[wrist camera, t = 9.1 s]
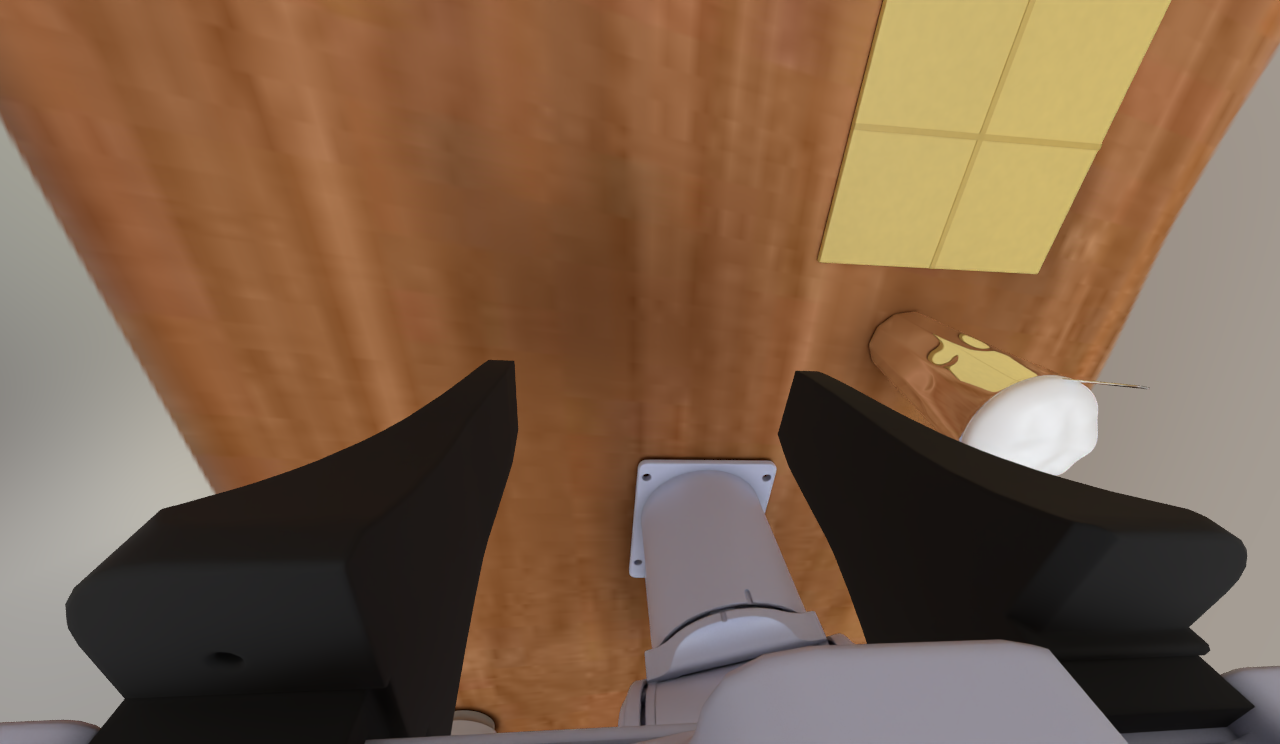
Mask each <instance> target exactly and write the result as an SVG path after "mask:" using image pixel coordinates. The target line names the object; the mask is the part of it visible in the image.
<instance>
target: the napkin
mask: <svg viewBox="0 0 1280 744" xmlns="http://www.w3.org/2000/svg"><path fill="white" fill-rule="evenodd" d="M1170 2H1171V0H883V4H882V8H881V12H880V16H879V20H878V23H877V27H876V31H875V35H874V39H873V43H872V47H871V51H870V55H869V59H868V63H867V67H866V71H865V75H864V79H863V82H862V86H861V90H860V94H859V98H858V102H857V106H856V110H855V114H854V118H853V122H852V126H851V130H850V134H849V137H848V141H847V145H846V149H845V153H844V157H843V161H842V165H841V169H840V173H839V177H838V181H837V185H836V189H835V193H834V196H833V200H832V204H831V208H830V212H829V216H828V220H827V224H826V228H825V232H824V236H823V240H822V244H821V248H820V252H819V255H818V259H817V261H818V262H821V263H840V264H859V265H877V266H896V267H915V268H929V269H952V270H971V271H990V272H1008V273H1027V274H1038V272H1039V270H1040V268H1041V266H1042V264H1043V262H1044V260H1045V258H1046V256H1047V254H1048V252H1049V250H1050V248H1051V245H1052V243H1053V241H1054V239H1055V237H1056V235H1057V233H1058V231H1059V229H1060V227H1061V225H1062V223H1063V221H1064V219H1065V217H1066V215H1067V213H1068V211H1069V209H1070V207H1071V205H1072V203H1073V200H1074V198H1075V196H1076V194H1077V192H1078V190H1079V188H1080V186H1081V184H1082V182H1083V180H1084V178H1085V176H1086V174H1087V172H1088V170H1089V168H1090V166H1091V164H1092V162H1093V160H1094V157H1095V155H1096V153H1097V151H1098V150H1100V148H1101V146H1102V144H1101V143H1102V141H1103V139H1104V137H1105V135H1106V133H1107V131H1108V129H1109V127H1110V125H1111V123H1112V121H1113V119H1114V117H1115V114H1116V112H1117V110H1118V108H1119V106H1120V104H1121V102H1122V100H1123V98H1124V96H1125V94H1126V92H1127V90H1128V88H1129V86H1130V84H1131V82H1132V80H1133V78H1134V76H1135V74H1136V72H1137V69H1138V67H1139V65H1140V63H1141V61H1142V59H1143V57H1144V55H1145V53H1146V51H1147V49H1148V47H1149V45H1150V43H1151V41H1152V39H1153V37H1154V35H1155V33H1156V31H1157V29H1158V26H1159V24H1160V22H1161V20H1162V18H1163V16H1164V14H1165V12H1166V10H1167V8H1168V6H1169V4H1170Z"/></svg>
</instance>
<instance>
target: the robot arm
mask: <svg viewBox="0 0 1280 744" xmlns="http://www.w3.org/2000/svg"><path fill="white" fill-rule="evenodd" d="M517 433H518V417H517V399H516V382H515V364H514V361H503V360H488V361H487V362H485V363H484V364H482V365H481V366H480V367H478V368H477V369H476V370H474V371H473V372H472V373H470V374H469V375H468V376H467V377H465V378H464V379H463V380H461V381H460V382H459V383H457V384H456V385H454V386H453V387H452V388H450V389H449V390H448V391H446V392H445V393H444V394H442V395H441V396H439V397H438V398H436V399H435V400H433V401H432V402H430V403H429V404H427V405H426V406H424V407H423V408H421V409H420V410H418V411H416V412H415V413H413V414H412V415H410V416H409V417H407V418H405V419H404V420H402V421H400V422H398V423H397V424H395V425H393V426H391V427H389V428H387V429H386V430H384V431H382V432H380V433H378V434H376V435H374V436H372V437H370V438H368V439H366V440H364V441H362V442H360V443H357V444H355V445H353V446H350V447H348V448H346V449H343V450H341V451H339V452H337V453H334V454H332V455H330V456H327V457H325V458H323V459H321V460H318V461H315V462H313V463H310V464H308V465H305V466H302V467H300V468H297V469H294V470H291V471H289V472H286V473H283V474H280V475H277V476H274V477H271V478H268V479H265V480H262V481H259V482H256V483H253V484H250V485H247V486H243V487H240V488H237V489H233V490H229V491H226V492H222V493H219V494H215V495H212V496H208V497H205V498H201V499H197V500H194V501H190V502H187V503H183V504H180V505H176V506H172V507H168V508H164V509H162V510H160V511H159V512H158V513H157V514H156V515H155V516H153V517H152V518H151V519H150V520H149V521H148V522H147V523H146V524H145V525H144V526H142V527H141V528H140V529H139V530H138V531H137V532H136V533H134V534H133V535H132V536H131V537H130V538H129V539H128V540H127V541H126V542H125V543H123V544H122V545H121V546H120V547H119V548H118V549H117V550H116V551H114V552H113V553H112V554H111V555H110V556H109V557H108V558H107V559H106V560H104V561H103V562H102V563H101V564H100V565H99V566H98V567H97V568H96V569H94V570H93V571H92V572H91V573H90V574H89V575H88V576H87V577H86V578H85V579H84V580H82V581H81V582H80V583H79V584H78V585H77V586H76V587H75V588H74V589H73V591H72V593H71V595H70V596H69V598H68V600H67V602H66V604H65V605H66V618H67V625H68V629H69V631H70V632H71V634H72V636H73V637H74V639H75V640H76V642H77V644H78V645H79V647H80V648H81V649H82V650H83V651H84V652H85V653H86V655H87V656H88V657H89V658H90V659H91V660H92V661H93V663H94V664H95V665H96V666H97V667H98V668H99V669H100V670H101V672H102V673H103V674H104V675H105V676H106V678H107V679H108V680H109V681H110V682H111V683H112V684H113V686H115V688H116V689H117V690H118V691H119V693H120V694H121V695H122V696H123V697H124V698H125V699H124V701H123V702H122V703H121V704H120V706H119V707H118V708H117V709H116V710H115V712H114V713H113V714H112V715H111V717H110V718H109V719H108V720H107V722H106V723H105V724H104V725H103V727H102V728H100V727H98V726H96V725H93V724H89V723H86V722H82V721H73V720H49V721H25V722H3V723H0V744H1280V666H1270V667H1247V668H1239V669H1235V670H1231V671H1229V672H1226V673H1223V674H1221V675H1220V674H1218V673H1217V672H1216V671H1215V670H1214V669H1213V668H1212V667H1211V666H1210V665H1208V664H1207V663H1206V662H1205V661H1204V660H1203V659H1202V658H1201V657H1199V655H1205V654H1207V653H1208V652H1209V651H1210V648H1209V645H1208V644H1207V643H1206V642H1205V641H1204V640H1203V639H1202V638H1201V637H1199V636H1198V635H1197V634H1196V633H1195V632H1194V631H1192V630H1191V629H1190V628H1189V626H1191V625H1192V624H1193V623H1194V622H1195V621H1196V620H1197V619H1198V618H1199V617H1201V616H1202V614H1204V613H1205V612H1206V611H1207V610H1208V609H1209V608H1210V607H1211V606H1212V605H1214V604H1215V603H1216V602H1217V601H1218V600H1219V599H1220V598H1221V597H1222V596H1223V595H1225V594H1226V593H1227V592H1228V591H1229V590H1230V588H1231V587H1232V586H1233V585H1234V584H1235V583H1236V582H1237V581H1238V580H1239V578H1240V576H1241V575H1242V573H1243V571H1244V569H1245V567H1246V561H1247V550H1246V548H1245V546H1244V544H1243V542H1242V541H1241V540H1240V539H1239V538H1237V537H1236V536H1234V535H1233V534H1231V533H1230V532H1228V531H1227V530H1225V529H1224V528H1222V527H1221V526H1219V525H1218V524H1216V523H1215V522H1213V521H1212V520H1210V519H1208V518H1207V517H1205V516H1203V515H1201V514H1198V513H1196V512H1194V511H1191V510H1189V509H1185V508H1180V507H1176V506H1172V505H1168V504H1163V503H1159V502H1154V501H1150V500H1146V499H1141V498H1137V497H1133V496H1129V495H1124V494H1119V493H1115V492H1111V491H1108V490H1104V489H1100V488H1097V487H1093V486H1089V485H1086V484H1082V483H1079V482H1075V481H1071V480H1068V479H1064V478H1061V477H1057V476H1054V475H1051V474H1048V473H1045V472H1041V471H1038V470H1035V469H1032V468H1029V467H1026V466H1023V465H1021V464H1018V463H1015V462H1012V461H1009V460H1006V459H1003V458H1000V457H998V456H995V455H992V454H990V453H987V452H984V451H982V450H979V449H977V448H974V447H972V446H969V445H967V444H965V443H962V442H960V441H957V440H955V439H953V438H950V437H948V436H946V435H943V434H941V433H939V432H937V431H935V430H932V429H930V428H928V427H926V426H924V425H922V424H920V423H918V422H916V421H914V420H912V419H910V418H908V417H906V416H904V415H902V414H900V413H898V412H896V411H894V410H892V409H891V408H889V407H887V406H885V405H883V404H881V403H879V402H877V401H876V400H874V399H872V398H870V397H868V396H866V395H865V394H863V393H861V392H859V391H857V390H855V389H854V388H852V387H850V386H848V385H846V384H844V383H842V382H840V381H838V380H836V379H834V378H832V377H830V376H828V375H826V374H823V373H821V372H817V371H795V375H794V379H793V382H792V386H791V389H790V393H789V396H788V400H787V403H786V407H785V411H784V414H783V418H782V421H781V425H780V428H779V432H778V436H779V439H780V443H781V446H782V449H783V452H784V455H785V457H786V460H787V463H788V466H789V468H790V470H791V472H792V474H793V476H794V478H795V480H796V482H797V483H798V485H799V487H800V489H801V491H802V493H803V495H804V497H805V499H806V501H807V502H808V504H809V506H810V508H811V510H812V512H813V514H814V516H815V518H816V519H817V521H818V523H819V525H820V527H821V529H822V531H823V533H824V534H825V536H826V538H827V540H828V543H829V545H830V547H831V549H832V551H833V553H834V555H835V558H836V560H837V563H838V566H839V568H840V571H841V573H842V576H843V578H844V581H845V583H846V586H847V588H848V591H849V594H850V596H851V599H852V602H853V605H854V607H855V610H856V613H857V616H858V618H859V621H860V624H861V627H862V630H863V633H864V636H865V639H866V642H867V644H855V643H853V642H851V641H850V640H849V639H848V638H847V637H846V636H845V635H843V634H839V633H838V634H835V635H831V636H828V637H827V638H826V635H825V633H824V631H823V629H822V626H821V624H820V622H819V620H818V617H817V615H816V613H815V612H814V611H809V612H806V611H805V608H804V606H803V604H802V601H801V599H800V596H799V594H798V592H797V589H796V587H795V585H794V582H793V580H792V577H791V575H790V573H789V570H788V568H787V566H786V563H785V561H784V558H783V556H782V554H781V551H780V549H779V547H778V544H777V542H776V540H775V537H774V535H773V532H772V530H771V528H770V525H769V523H768V521H767V518H766V516H765V511H766V507H767V504H768V500H769V496H770V493H771V489H772V485H773V482H774V478H775V474H776V469H777V468H776V466H775V464H774V463H773V462H772V461H768V460H643V461H641V462H640V463H639V465H638V472H637V484H636V495H635V506H634V518H633V529H632V540H631V552H630V563H629V574H630V575H631V576H632V577H635V578H645V581H646V591H647V601H648V612H649V622H650V632H651V643H652V649H650V650H647V651H645V664H646V676H647V679H644V680H639V681H635V682H633V683H632V685H631V686H630V688H629V691H628V694H627V696H626V698H625V700H624V702H623V704H622V707H621V710H620V714H619V722H618V727H605V728H586V729H566V730H547V731H528V732H508V733H489V734H470V735H451V731H452V725H453V718H454V712H455V706H456V700H457V694H458V688H459V683H460V677H461V671H462V665H463V660H464V654H465V648H466V643H467V637H468V632H469V627H470V622H471V616H472V611H473V606H474V601H475V596H476V591H477V586H478V581H479V576H480V571H481V566H482V561H483V557H484V553H485V549H486V546H487V542H488V538H489V535H490V532H491V529H492V526H493V523H494V520H495V517H496V513H497V510H498V507H499V504H500V501H501V498H502V495H503V492H504V488H505V485H506V482H507V479H508V476H509V472H510V469H511V466H512V462H513V457H514V451H515V446H516V440H517ZM644 474H650V475H649V476H643V475H644ZM767 474H768V475H767ZM764 475H767V476H766V477H763V476H764Z"/></svg>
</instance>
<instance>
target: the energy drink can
mask: <svg viewBox="0 0 1280 744" xmlns="http://www.w3.org/2000/svg"><path fill="white" fill-rule="evenodd" d="M494 728H495V724H494V722H493V720H492V719H491V718H490V717H488V716H487V715H485V714H482V713H480V712H476V711H469V710H459V711H455V712H454V718H453V725H452V731H451V735H470V734H489V733H497V732H496V731H495V730H494Z"/></svg>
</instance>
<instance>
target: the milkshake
mask: <svg viewBox="0 0 1280 744" xmlns="http://www.w3.org/2000/svg"><path fill="white" fill-rule="evenodd" d="M869 348H870V353H871V358H872V361H873V363H874V364H875V365H876V366H877V367H878V368H879V369H880V370H881V371H882V372H883V374H884V375H885V376H886V377H887V378H888V379H889V380H890V381H891V382H892V383H893V384H894V385H895V387H896V388H897V389H898V390H899V391H900V392H901V393H902V394H903V395H904V396H905V397H906V398H907V400H908V401H909V402H910V403H911V404H912V405H913V406H914V407H915V408H916V409H917V410H918V411H919V412H920V414H921V415H922V416H923V417H924V418H925V419H926V420H927V421H928V422H929V423H930V425H931V426H932V427H933V428H934V429H935V430H936V431H937V432H939V433H941V434H943V435H946V436H948V437H950V438H953V439H955V440H957V441H960V442H962V443H965V444H967V445H969V446H972V447H974V448H977V449H979V450H982V451H984V452H987V453H990V454H992V455H995V456H998V457H1000V458H1003V459H1006V460H1009V461H1012V462H1015V463H1018V464H1021V465H1023V466H1026V467H1029V468H1032V469H1035V470H1038V471H1041V472H1045V473H1048V474H1051V475H1054V476H1056V475H1060V474H1062V473H1064V472H1065V471H1067V470H1068V469H1069V468H1070V467H1071V466H1072V465H1073V464H1074V463H1075V462H1076V461H1078V460H1079V459H1081V458H1082V457H1084V456H1086V455H1087V454H1089V453H1090V452H1091V451H1092V450H1093V449H1094V447H1095V445H1096V443H1097V439H1098V422H1097V417H1098V404H1097V400H1096V398H1095V396H1094V394H1093V393H1092V392H1091V391H1090V390H1089V389H1088V388H1087V387H1086V386H1085V385H1083V384H1082V383H1080V382H1083V383H1093V384H1103V385H1114V386H1123V387H1132V388H1142V389H1150V388H1149V387H1144V386H1136V385H1127V384H1116V383H1106V382H1096V381H1086V380H1076V379H1071V378H1068V377H1066V376H1064V375H1061V374H1059V373H1057V372H1054V371H1052V370H1049V369H1047V368H1044V367H1042V366H1040V365H1037V364H1035V363H1032V362H1030V361H1028V360H1025V359H1023V358H1020V357H1018V356H1015V355H1013V354H1010V353H1008V352H1006V351H1003V350H1001V349H998V348H996V347H994V346H991V345H989V344H987V343H985V342H982V341H980V340H978V339H976V338H974V337H971V336H969V335H967V334H965V333H963V332H961V331H958V330H956V329H954V328H952V327H950V326H947V325H945V324H943V323H941V322H939V321H936V320H934V319H932V318H930V317H928V316H925V315H923V314H921V313H919V312H916V311H914V312H906V313H898V314H894V315H893V316H892V317H890V318H889V319H888V320H886V321H885V322H883V323H882V324H881V325H879V326H878V327H877V329H876V331H875V333H874V335H873V337H872V339H871V341H870V343H869Z"/></svg>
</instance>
